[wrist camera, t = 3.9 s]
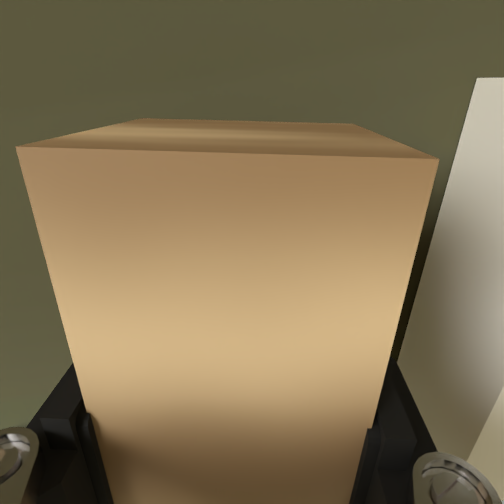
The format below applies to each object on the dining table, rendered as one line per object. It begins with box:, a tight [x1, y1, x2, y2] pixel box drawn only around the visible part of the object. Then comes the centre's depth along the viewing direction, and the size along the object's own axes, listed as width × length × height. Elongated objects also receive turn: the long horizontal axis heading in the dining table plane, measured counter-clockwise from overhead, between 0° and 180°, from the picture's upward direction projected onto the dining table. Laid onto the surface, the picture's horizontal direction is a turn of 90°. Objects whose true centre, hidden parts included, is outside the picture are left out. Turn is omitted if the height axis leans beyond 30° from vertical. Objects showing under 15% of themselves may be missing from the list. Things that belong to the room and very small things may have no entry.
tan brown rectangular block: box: [16, 118, 439, 504], centre depth 10 cm, size 12×5×8 cm, turn 179°
